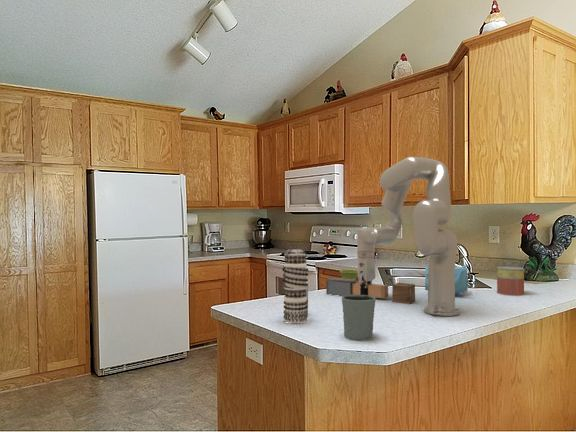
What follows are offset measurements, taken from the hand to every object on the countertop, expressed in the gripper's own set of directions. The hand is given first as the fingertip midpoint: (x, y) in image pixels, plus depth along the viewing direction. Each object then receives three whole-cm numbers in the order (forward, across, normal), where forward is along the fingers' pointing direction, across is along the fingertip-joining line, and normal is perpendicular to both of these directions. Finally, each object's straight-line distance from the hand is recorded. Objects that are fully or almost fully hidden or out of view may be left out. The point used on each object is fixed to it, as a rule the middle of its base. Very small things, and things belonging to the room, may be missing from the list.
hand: (366, 295), depth 188 cm
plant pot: (+1, +18, +17) cm, 25 cm away
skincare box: (+1, -43, +9) cm, 44 cm away
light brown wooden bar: (+1, 0, +4) cm, 4 cm away
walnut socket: (+1, 0, -17) cm, 17 cm away
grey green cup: (+1, -57, -21) cm, 61 cm away
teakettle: (+1, +26, -29) cm, 39 cm away
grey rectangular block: (+1, 0, +12) cm, 12 cm away
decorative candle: (+1, -52, +5) cm, 52 cm away
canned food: (+1, +44, -53) cm, 69 cm away
